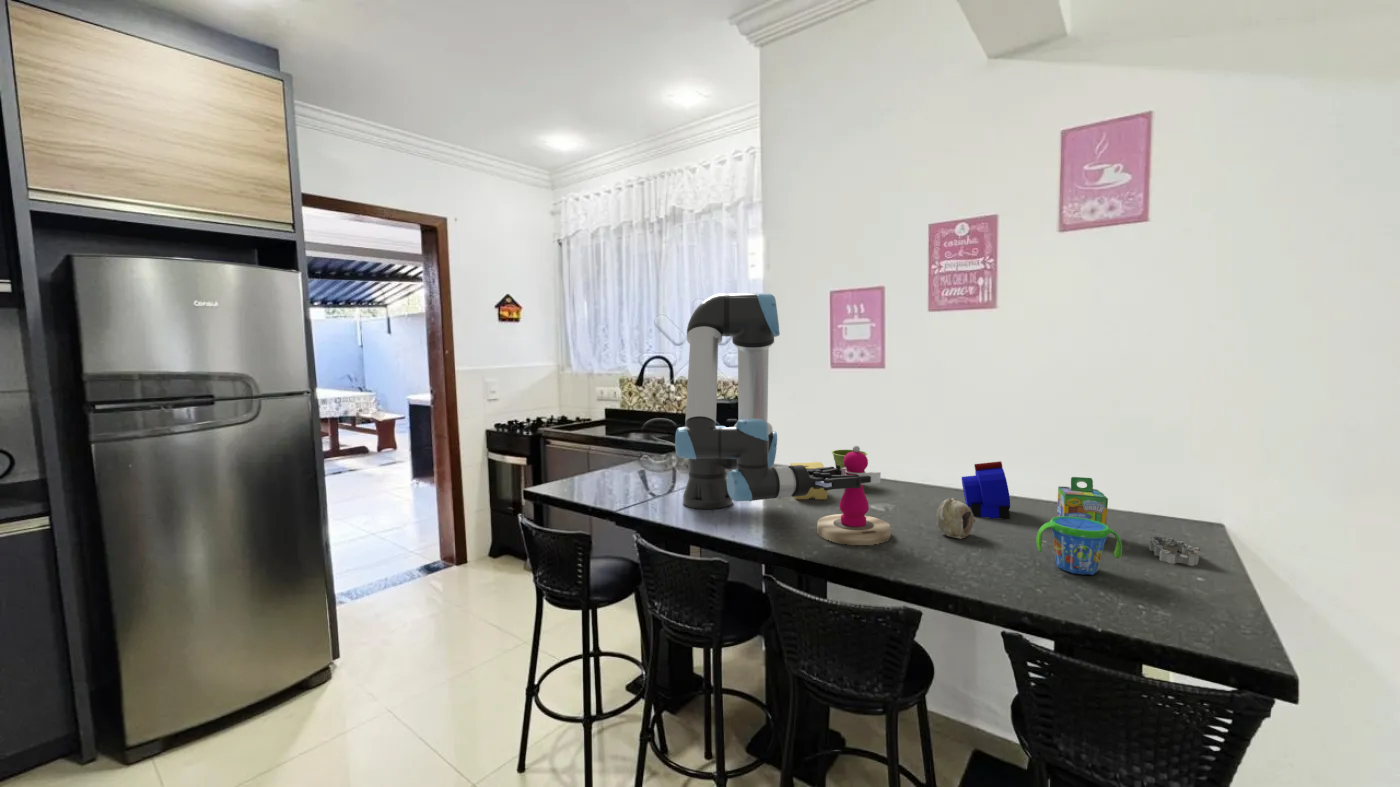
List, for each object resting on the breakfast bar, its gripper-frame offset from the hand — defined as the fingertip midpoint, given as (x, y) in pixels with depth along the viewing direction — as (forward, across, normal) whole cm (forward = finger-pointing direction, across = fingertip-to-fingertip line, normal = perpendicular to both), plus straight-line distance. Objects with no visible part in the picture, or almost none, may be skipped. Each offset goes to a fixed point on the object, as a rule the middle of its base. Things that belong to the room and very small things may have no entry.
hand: (871, 474), depth 150 cm
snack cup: (+27, +36, -15) cm, 47 cm away
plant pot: (+22, -46, -15) cm, 53 cm away
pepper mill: (-5, 0, -12) cm, 13 cm away
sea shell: (+19, +9, -15) cm, 26 cm away
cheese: (+2, -38, -15) cm, 41 cm away
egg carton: (+54, +37, -16) cm, 67 cm away
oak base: (-5, 0, -15) cm, 16 cm away
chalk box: (+47, +20, -15) cm, 53 cm away
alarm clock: (+41, -5, -15) cm, 44 cm away
